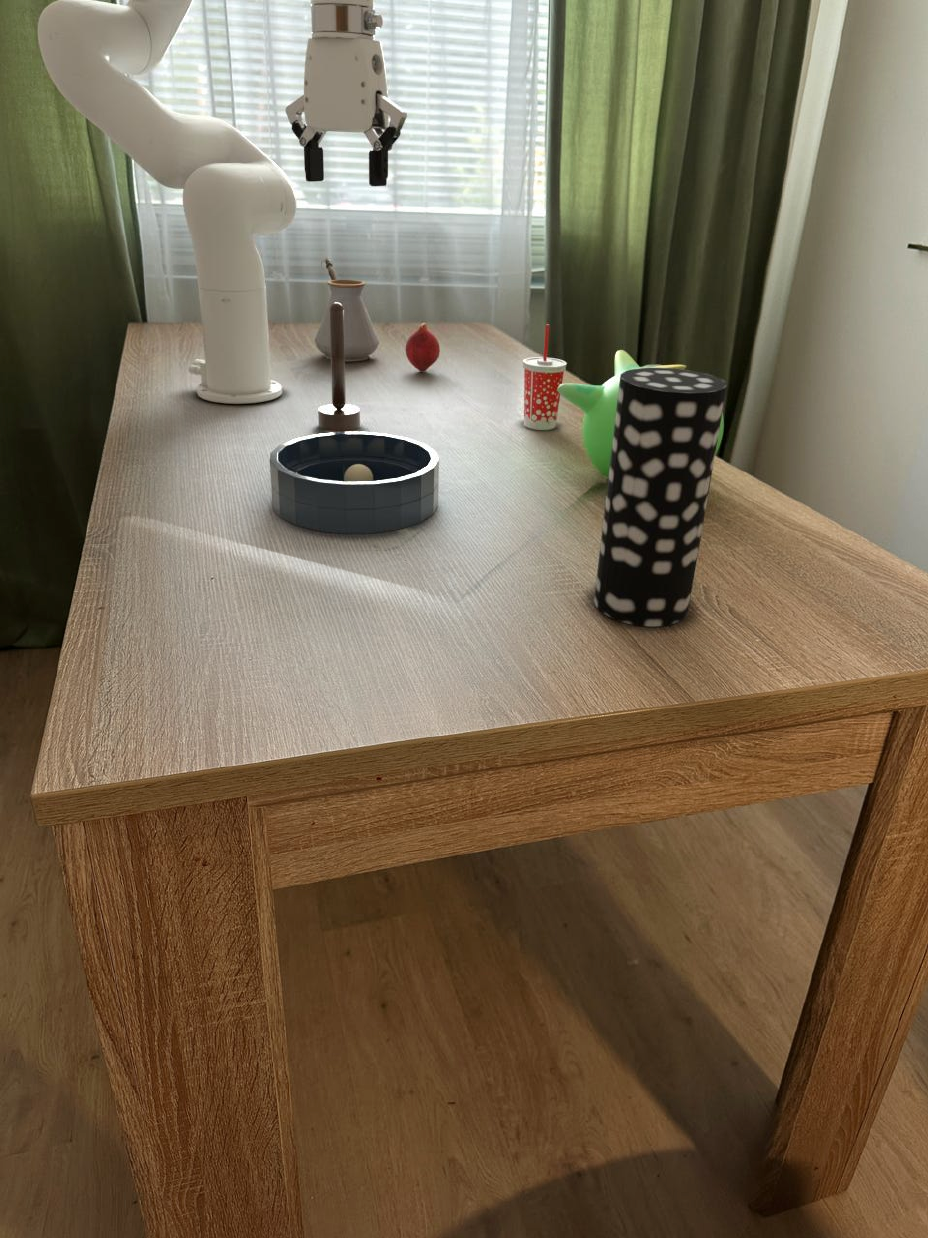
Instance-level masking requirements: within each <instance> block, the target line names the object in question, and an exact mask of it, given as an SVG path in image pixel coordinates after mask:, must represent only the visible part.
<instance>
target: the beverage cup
mask: <svg viewBox="0 0 928 1238" xmlns="http://www.w3.org/2000/svg"><path fill="white" fill-rule="evenodd" d="M549 336H550V324H549V323H547V324H545V333H544V343H543V345H544V347H543V356H533V357H527V358H524V359H523V360H522V368H523V371H524V374H523V377H524V378H523V426H524V427H526V428H527V429H531V430H536V431H549V430H554V429H556V426H557V419H558V413H559V407H560V400H561V394H560V393H559V392H558V387H559V386H560V385H561V384H563V379H564V372H565V371H566V369H567V364H568V362H566V361H565V360H562V359H559V358H554V357H548V347H549Z"/></svg>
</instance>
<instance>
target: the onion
mask: <svg viewBox="0 0 928 1238" xmlns="http://www.w3.org/2000/svg"><path fill="white" fill-rule="evenodd" d="M439 344H440V343H439V341H438V339H437V337H436V336H435V334H433V332H431V331H430V330H429V329H428V324H426V323H425V322H422V323H421V324H420V325H419V327H418V329H416V330H415V331H413V332H412V333H411V335H409V337H408V339H407V341H406V344H405V355H406V358H407V360H408V362H409V363H410V364H411V365H412V366H413V367H414V368H415V369H417V370H418V372H422V373H423V372H426V371H427V370H428V369H430V367H432V366H433V365H434V364H435V363H436V362H437V360H438V359H439V357H440V352H441V351H440V345H439Z"/></svg>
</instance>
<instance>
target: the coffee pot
mask: <svg viewBox="0 0 928 1238" xmlns="http://www.w3.org/2000/svg"><path fill="white" fill-rule="evenodd" d="M324 262H325V267H324V266H323V263H324ZM320 266H321V268H322V269H325V270H327V271H328V276H329V277H330V280H328V281H327V283H326V284H327V286H329V288H330V289H329V290H330V297H329V300H328V302H327V306H326V307H325V311H324V313H323V316H322V318H321V321H320V324H319V327H318V329H317V331H316V335H315V337H314V343H315V345H316V348H317V349H318V350H319V352H320V353H322V354H323V355H325V358H326V359H328V360H331V343H330V306H331V305H332V304H333V303H336V302H337V303H340V304H341V305H342V306H343V308H344V348H345V362H360V361H361V362H362V361H365V360H368V359H369V358H370V357H369V356H370V355H372V354H374V353H375V352H376V350H377V349H378V347H379V345H380V340H379V337H378V335H377V332H376V329H375V327H374V324H373V322H372V320H371V316H370V315H369V312H368V310H367V308H366V305H365V302H364V300H363V298H362V297H363V296H362V295H361V294H362V292H363V290H364V288H365V285H367V283H366V281H362V280H355V279H338V276H337V273H336V271H335V269H334V268H333V267H334V262H333V261H332V260H331V259H329V258H325V259H324V260H322V261H321V263H320Z"/></svg>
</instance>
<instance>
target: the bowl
mask: <svg viewBox="0 0 928 1238" xmlns="http://www.w3.org/2000/svg"><path fill="white" fill-rule="evenodd" d="M356 464H361V465H364V466H366V467H368V468H369V469H370V470H371V472H372V474H373V482H344V476H345V473H346V471H347V469H348V468H349V467H351V466H353V465H356ZM269 472H270V485H271V486H270V487H271V488H270V489H271V503H272V510H273V511H274V512H275V513H276V514H277V515H278V517H279V518H281V519H282V520H285V521H286V522H289V523H291V524H293V525H295V526H298V527H301V528H305V529H309V530H314V531H318V532H324V533H325V532H326V533H333V534H335V533H336V534H342V535H343V534H344V535H345V534H347V535H351V534H352V535H355V534H356V535H357V534H378V533H384V532H385V533H386V532H391V531H398V530H402V529H405V528H408V527H411V526H415V525H417V524H420V523H422V522H423V521H425V520H426V519H428V518H430V517H431V516H433V515H434V513H435V511H436V509H437V507H438V505H439V481H440V459H439V456H438V454H437V452H436V450H435V449H433V448H431V446H428V445H427V444H426V443H423V442H420V441H417V440H414V439H411V438H409V437H404V436H398V435H393V434H388V433H381V432H380V433H379V432H369V431H342V432H337V431H334V432H327V433H326V432H325V433H318V434H317V433H315V434H311V435H307V436H303V437H297V438H294V439H292V440H288V441H287V442H284V443H282V444H279V445H278V446H277V447H276V448H275V449H274V450H272V451H271V452H270V455H269Z"/></svg>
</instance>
